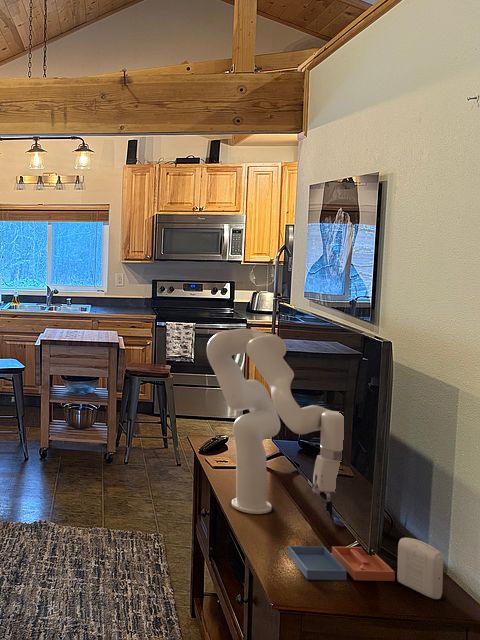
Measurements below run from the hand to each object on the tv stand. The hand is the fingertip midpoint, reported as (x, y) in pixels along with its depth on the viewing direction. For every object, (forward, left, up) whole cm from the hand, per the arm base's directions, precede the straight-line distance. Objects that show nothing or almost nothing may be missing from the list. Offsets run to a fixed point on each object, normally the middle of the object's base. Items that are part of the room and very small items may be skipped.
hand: (332, 512), depth 195 cm
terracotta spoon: (+20, -1, -6) cm, 21 cm away
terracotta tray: (+20, -1, -7) cm, 21 cm away
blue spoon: (+2, 0, -1) cm, 2 cm away
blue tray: (+20, -13, -7) cm, 25 cm away
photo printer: (+31, +8, -7) cm, 33 cm away
